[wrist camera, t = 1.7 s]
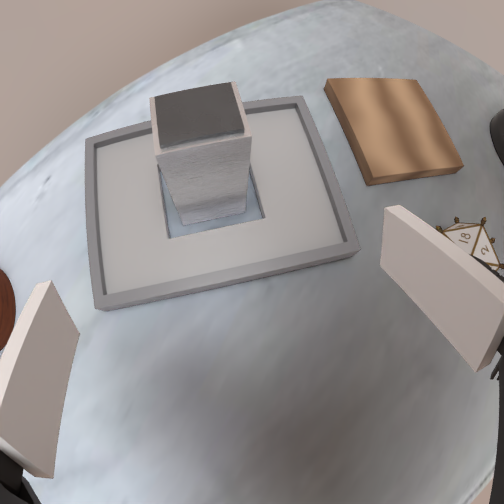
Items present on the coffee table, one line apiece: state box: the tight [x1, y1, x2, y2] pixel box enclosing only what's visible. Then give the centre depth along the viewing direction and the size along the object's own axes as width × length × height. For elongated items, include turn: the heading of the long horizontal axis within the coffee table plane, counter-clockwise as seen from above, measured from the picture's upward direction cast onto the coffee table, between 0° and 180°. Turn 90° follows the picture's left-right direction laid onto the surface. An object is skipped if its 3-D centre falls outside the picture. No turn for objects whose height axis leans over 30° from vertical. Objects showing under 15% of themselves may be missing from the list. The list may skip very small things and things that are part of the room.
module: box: [150, 82, 252, 226], centre depth 25 cm, size 6×5×13 cm
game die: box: [436, 216, 504, 271], centre depth 27 cm, size 9×8×10 cm
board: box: [324, 78, 464, 186], centre depth 34 cm, size 14×14×2 cm
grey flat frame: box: [85, 96, 361, 311], centre depth 30 cm, size 24×18×2 cm
